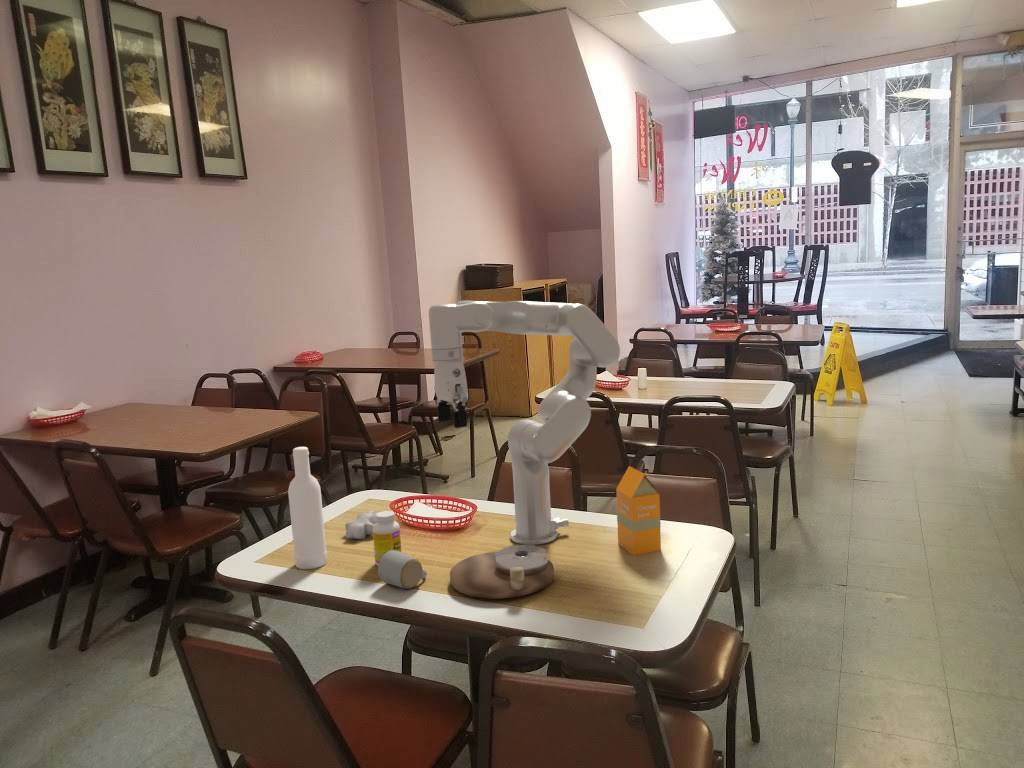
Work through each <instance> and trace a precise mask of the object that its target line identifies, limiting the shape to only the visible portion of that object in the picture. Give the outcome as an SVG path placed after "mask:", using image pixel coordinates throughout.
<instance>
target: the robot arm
mask: <svg viewBox="0 0 1024 768" xmlns="http://www.w3.org/2000/svg"><path fill="white" fill-rule="evenodd" d="M428 320H429V333H430V334H429V335H430V344H431V345H430V346H431V360H432V363H434V368H433V369H434V370H433V371H434V373H433V374H434V386H433V387H434V393H435V398H436V405H437V406H436V407H437V408H436V409H437V418H438V419H437V420H438V422H440V423H441V422H447V421H450V420H452V419H451V417H452V416H451V405H452V407H453V411H452V414H453V427H454V428H456V429H458V428H464V427H467V426H468V417H467V416H468V415H467V409H468V407H467V405H468V399H469V392H468V391H469V390H468V381H467V376H466V370H465V365H464V351H463V337H462V335H463V334H462V333H463V332H464V333H465V332H469V333H470V332H471V333H480V332H485V331H488V332H500V333H507V334H513V335H525V336H527V335H529V336H530V335H533V336H537V335H538V336H568V337H573V338H572V339H571V341H570V342H569V343H570V344H569V346H568V355H569V367H568V371H567V372H566V374H565V376H564V377H563V378H562V379H561V380H560V381H559V382H558V384H556V386H555V387H554V388H553V389H551V391H549V392H548V394H547V395H546V396H545V397H544V398H543V400H542V401H541V402H540V403H539V406H538V411H537V413H538V417H539V418H540V420H541V421H542V422H543V423H542V422H538V421H536V420H533V419H521V420H518V421H517V422H515V423H514V424H513V425H512V426H511V427H510V429H509V431H508V434H507V446H508V451H509V456H510V460H511V467H512V468H511V469H512V479H513V480H512V481H513V483H512V485H513V497H514V498H513V500H514V517H515V518H514V519H515V528H514V529H512V531H511V532H510V537H509V538H510V540H511V541H513V542H514V543H516V544H518V545H535V546H538V545H544V544H548V543H550V542H554V541H555V540H556V539H557V538H558V536H559V535H558V533H559V532H558V529H559V528H564V527H568V526H569V523H570V522H569V520H568V519H567V518H563V519H561V518H560V517H557V518H552V511H551V509H552V508H551V507H552V506H551V489H550V469H549V464H550V463H551V464H552V463H553V462H554V461H555V462H556V460H558V459H559V458H560V457H561V456H563V454H564V453H566V451H567V450H568V449H569V448H570V447H571V446H572V445H573V444H574V443H575V442H576V441H577V439H578V438H579V437H580V436H581V435H582V433H584V431H585V430H586V429H587V427H588V425H589V423H590V421H591V417H592V413H591V412H592V410H591V406H590V404H589V403H588V401H587V400H588V399H589V397H590V396H591V395H592V393H593V392H594V391H595V389H596V384H597V379H598V376H597V375H598V373H597V368H609V367H612V366H613V365H615V364H616V363H617V362H618V360H619V358H620V355H621V346H620V344H619V341H618V340H617V339H616V337H615V336H614V334H613V333H612V332H611V330H609V329H608V327H607V326H606V325H605V324H604V322H603V321H602V320H601V319H600V318H599V317H598V316H597V314H596V313H595V312H594V311H593V310H592V309H591V308H589V307H588V306H587V305H586V304H582V303H574V302H573V303H568V302H550V301H548V302H547V301H544V302H543V301H530V300H514V301H480V300H479V301H478V300H460V301H457V302H455V303H442V304H441V303H440V304H434V305H431V306H430V307H429V309H428Z"/></svg>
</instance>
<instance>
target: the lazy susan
mask: <svg viewBox="0 0 1024 768" xmlns="http://www.w3.org/2000/svg"><path fill="white" fill-rule="evenodd" d="M498 551H499V550H498ZM498 551H490V552H489V551H488V552H484V553H480V554H475V555H473V556H470V557H467V558H464V559H462V560H460V561H459V562H457V563H456V564H455V565H453V566H452V568H451V569H450V570H449V571H450V572H449V579H450V580H449V581H450V584H451V586H452V588H454V590H456V591H458V592H459V593H460V594H464V595H466V596H470V597H474V598H479V599H480V598H481V599H493V600H495V599H496V600H497V599H498V600H499V599H500V600H501V599H511V598H518V597H522V596H526V595H530V594H533V593H536V592H538V591H541V590H543V589H544V588H546V587H547V586H549V585H550V584H551V583H552V582H553V580H554V578H555V567H554V565H553V563H552V562H551V561H550V560H549V559H548V567H547V569H546V570H544V571H543V572H541V573H538V574H535V575H531V576H524V569H523V568H522V567H513V568H511V569H510V576H508V575H504V574H502V573H500V572H499V571H498V570H497V568H496V553H497V552H498Z"/></svg>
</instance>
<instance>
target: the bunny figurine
mask: <svg viewBox="0 0 1024 768" xmlns="http://www.w3.org/2000/svg"><path fill="white" fill-rule="evenodd" d="M376 514H377V513H375V511H374V510H367V512H361V513H360V514H358V515H357V516H356V519H355V520H352V521H350V522H346V523H345V525H344V526H345V531H346V532H345V537H346V539H354V540H355V539H356V540H365V539H366V537H367V536H370V535H373V526H374V525H375V524H376V523H377V521H376Z"/></svg>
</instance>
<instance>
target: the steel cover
mask: <svg viewBox="0 0 1024 768" xmlns="http://www.w3.org/2000/svg"><path fill="white" fill-rule="evenodd" d="M548 560H549V559H548V551H547V550H546V549H545V548H543V547H541V546H538V545H525V544H515V545H511V546H505V547H503V548H501V549H499V550H498V552H497V553H496V568H497V570H498V571H499V572H500V573H502V574H504V575H508V576H510V569H511V568H513V567H522V568H523V569H524V576H531V575H535V574H538V573H541V572H543V571H544V570H546V569H547V567H548Z"/></svg>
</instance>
